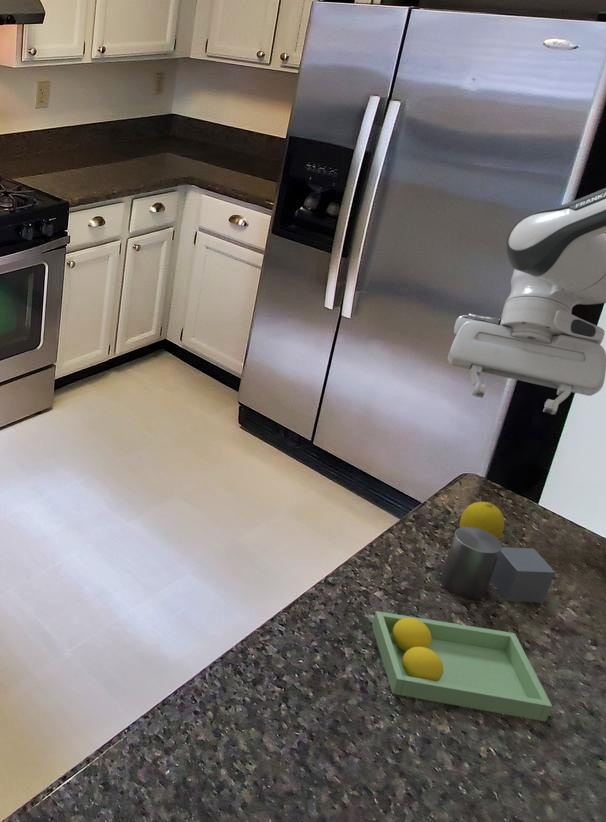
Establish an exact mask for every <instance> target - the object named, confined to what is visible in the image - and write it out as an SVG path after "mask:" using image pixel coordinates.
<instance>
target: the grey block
mask: <svg viewBox="0 0 606 822" xmlns="http://www.w3.org/2000/svg"><path fill="white" fill-rule="evenodd" d="M555 576H556V571H555V569H553V567H552V566H550V565H549V564H548V562H547V561H546V559H544V558H543V556H542V555H540V553H539V552H538V551H537V550H536V549H535V548H532V547H531V548H530V547H529V548H528V547H507V546H505V547H503V546H502V549H501V552H500V555H499V557H498V560H497V563H496V566H495V568H494V571H493V574H492V577H491V579H490V582H491V584H492V585H493V586H494V588H496V590H497V591H498V593H499V594H500V595H501V596H502V598H503V599H504V600H505V602H518V603H539V604H540V606H543V604H544V602H545V600H546V598H547V594H548V592H549V589H550V587H551V585H552V582H553V580H554V577H555Z"/></svg>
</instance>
